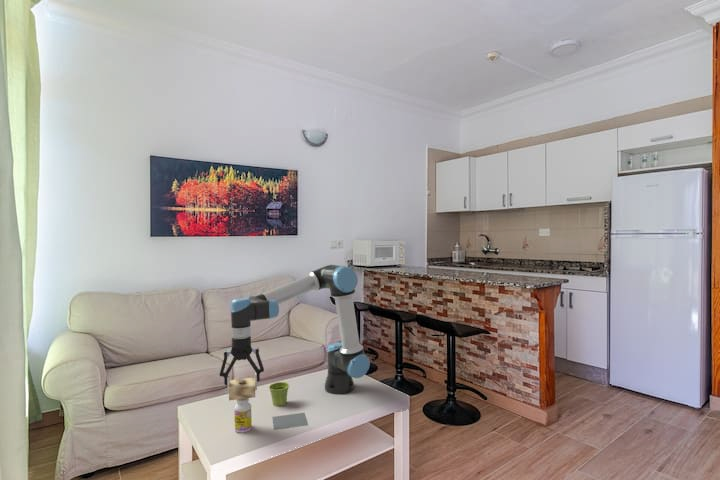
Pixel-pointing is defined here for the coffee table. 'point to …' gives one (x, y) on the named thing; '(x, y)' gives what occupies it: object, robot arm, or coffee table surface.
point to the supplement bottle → (243, 415)
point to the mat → (289, 421)
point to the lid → (242, 388)
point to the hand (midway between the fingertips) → (242, 390)
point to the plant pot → (279, 393)
